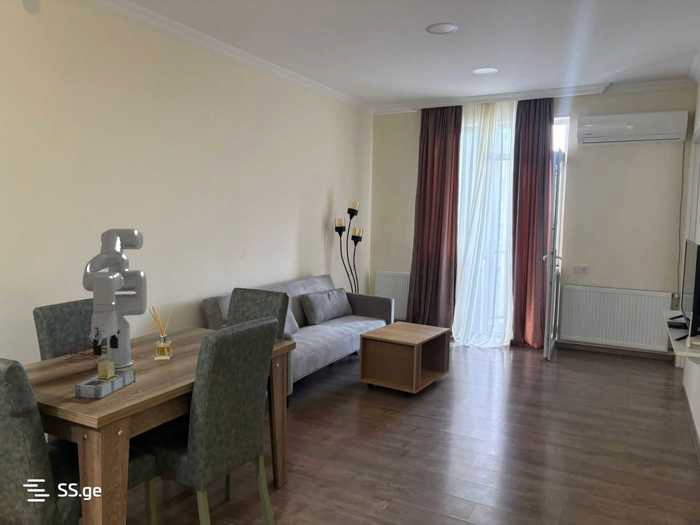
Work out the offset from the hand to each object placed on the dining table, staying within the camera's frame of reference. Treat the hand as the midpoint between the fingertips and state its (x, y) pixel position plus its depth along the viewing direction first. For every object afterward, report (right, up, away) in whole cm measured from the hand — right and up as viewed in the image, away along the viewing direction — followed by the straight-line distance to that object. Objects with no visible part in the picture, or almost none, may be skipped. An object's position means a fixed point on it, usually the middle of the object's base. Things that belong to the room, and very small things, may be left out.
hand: (106, 351), depth 201 cm
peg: (0, -14, +1) cm, 14 cm away
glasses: (-30, -11, +50) cm, 59 cm away
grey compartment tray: (0, -15, +1) cm, 15 cm away
